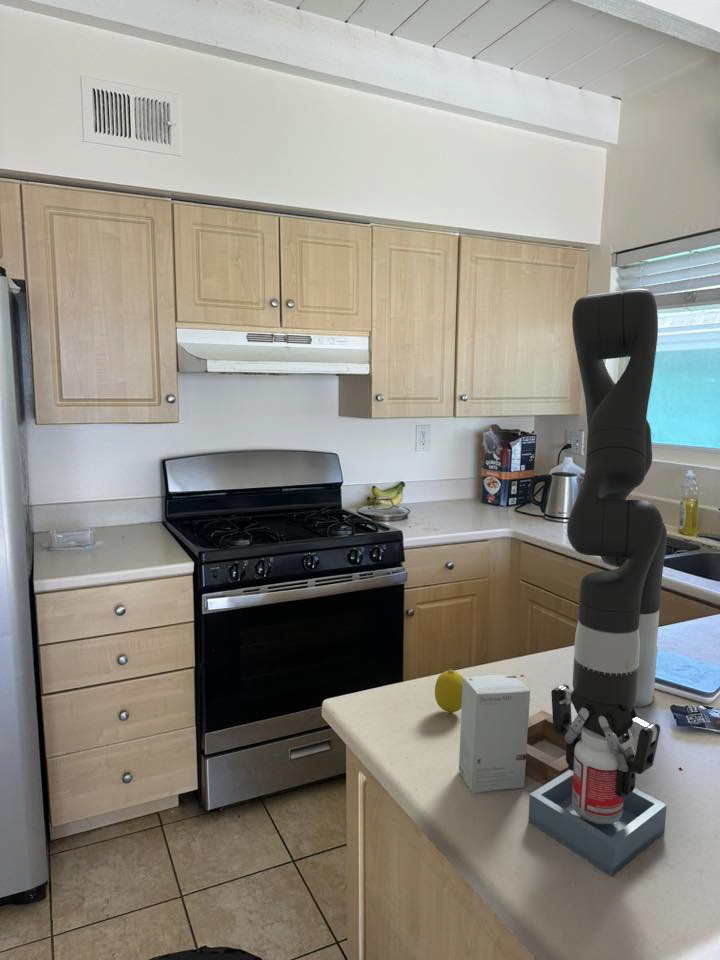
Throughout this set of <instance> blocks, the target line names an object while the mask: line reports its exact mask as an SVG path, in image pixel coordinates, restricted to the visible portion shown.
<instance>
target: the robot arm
mask: <svg viewBox="0 0 720 960" xmlns="http://www.w3.org/2000/svg"><path fill="white" fill-rule="evenodd" d="M658 317H659V316H658V307H657V303H656V298H655V296H654V294H653V292H652V291H651V290H650V289H646V288H631V289H625V290H617V291H610V292H604V293H603V292H602V293H595V294H590V295H589V294H588V295H585V296H581V297H580V298H578V299H577V300H576V302H575V303H574V306H573V310H572V317H571V319H572V320H571V321H572V322H571V323H572V326H571V327H572V334H573V341H574V347H575V352H576V357H577V362H578V363H577V364H578V368H579V373H580V378H581V383H582V389H583V394H584V402H585V410H586V411H585V412H586V424H587V437H586V457H585V458H586V459H585V470H584V477H583V480H582V483H581V487H580V489H579V492H578V495H577V497H576V500H575V502H574V504H573V506H572V509H571V510H570V515H569V518H568V521H567V527H566V532H567V533H566V534H567V539H568V542H569V544H570V545H571V547H572V548H573V550H574V551H575V552H577V553H579V554H581V555H585V556H590V557H591V556H593V557H600V560H601V561H602V562H603V563H604V564H606V565H608V566H611V567H616V568H615V569H611V570H602V571H597V572H591V573H588V574H586V575H584V577H582V579H581V581H580V585H579V597H578V598H579V599H578V600H579V601H578V613H577V614H578V616H577V618H578V619H577V625H576V630H575V634H574V646H573V647H574V649H573V651H574V652H573V670H572V671H573V673H572V688H573V689H571V688H570V686H569V685H568V684H565V683H564V684H561V685H559V686H557V687H555V688H553V689H552V690H551V709H552V714H551V715H553V729H554V731H555V732H556V733H558V734H559V733H561V734H562V735H563V736H564V738H565V741H566V742H567V747H566V751H565V752H566V753H565V755H566V762H567V764H569V765H568V768H569V769H570V770H571V771H573V770H574V751H575V746H576V744H577V743H578V742H579V741H580V740H581V733H582V728H583V726H584V727H585V728H586V729H588V730H590V731H593V732H595V733H597V734H599V735H601V736H603V737H605V738H606V739H607V742H608V745H609V747H610V750H611V752H613V753H614V754H615V757H616V759H617V762H618V765H619V768H618V769H617V784H616V795H618V796H619V797H621V798H623V797H625V796H626V795H628V794H629V793H631V792H632V791H633V790H634V788H635V787H636V775H637V774H638V775H641V774H643V773H644V772H646V771H647V770H649V769H650V768H651V767H653V765H654V761H655V756H656V751H657V748H658V743H659V738H660V737H659V736H660V733H661V727H660V725H659V723H657V722H651V723H648V722H646V721H644V720H643V719H640V718H638V714H637V711H636V709H635V708H641V707H642V708H643V707H646V706H649V705H651V704H652V702H653V699H654V694H655V686H656V685H655V683H656V682H655V681H656V669H657V659H658V658H657V656H658V634H659V633H658V632H659V622H660V621H659V620H660V619H659V618H660V607H661V606H660V604H661V592H662V580H663V573H664V572H663V571H664V563H665V559H666V558H665V557H666V550H667V542H668V539H667V538H668V534H667V527H666V525H665V523H664V521H663V517H662V515H661V512H660V511H659V509H658V507H656V505H654V503H652V502H650V501H646V500H643V499H642V500H641V499H627V497H629V495H630V494H632V492H633V491H634V490H635V488H637V487H639V486H640V485H641V484H642V483H643V482H644V480H645V477H646V475H647V473H648V472H649V471H650V468H651V466H652V464H653V463H652V462H653V446H652V445H653V444H652V430H651V429H652V428H651V426H650V423H649V421H648V419H647V417H648V408H649V402H650V396H651V391H652V390H651V389H652V384H653V379H654V378H653V376H654V369H655V360H656V354H657V344H658V335H659V332H658V331H659V320H658ZM619 358H620V359H621V358H622V359H623V358H629V360H628V363H627V365H626V367H625V370H624V371H623V372H622V374H621V376H620V377H619V379H618V380H617V381H616V383H615V381H614V379H613V378H612V377H611V375H610V373H609V371H608V369H607V366H606V364H605V362H604V360H610V359H612V360H613V359H619ZM571 705H572V706H573V707H574V709H575V712H576V713H577V715H576V717H575V718H574V719H573V721H572V706H571ZM631 728H633V729H634V731H635V735H634V736H635V737H634V736H633V734H632V731H631ZM620 736H621V741H620V742H619V741H618V737H620ZM633 737H634V738H635V739H636V740H637V743H636V748H635V747H634V745H635V740H634V738H633Z"/></svg>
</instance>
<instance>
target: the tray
mask: <svg viewBox="0 0 720 960" xmlns="http://www.w3.org/2000/svg"><path fill="white" fill-rule="evenodd" d="M572 789H573V771H571V770H568V771H567V772H565V773H563V774H562V775H560V776H558V777H557V778H555V779H553V780H552V781H550V782H549V783H547V784H545V785H542V786H540V787H539V788H537V789H535V790H533V791H531V792H530V793H529V801H528V823H529V824H531V825H532V826H533V827H536V828H537V829H538V830H540V831H542V832H543V833H545V834H546V835H548V836H549V837H551V838H552V839H554V840H555V841H557V842H559V843H560V844H561V845H563V846H565V847H566V848H568V850H570V851H572V852H573V853H575V854H577V855H578V856H579V857H581V858H582V859H585V860H586V861H587V862H589V863H590V864H591V865H593V866H595V867H596V868H598V869H600V870H601V871H603V872H604V873H605V874H607V875H609V876H610V877H613V876H615V875H616V874H617V873H618V872H620V871H621V870H622V869H623V868H624V867H626V866H627V865H628V864H629V863H631V862H632V861H633V860H634V859H635V858H636V857H637V856H639V855H640V854H641V853H643V852H644V851H645V850H646V849H648V848H649V847H650V846H651V845H652V844H654V843H655V842H656V841H657V840H659V838H661V837H662V836H663V835H664V834H665V829H666V819H667V816H666V815H667V808H668V807H667V804H666V803H664V802H662V801H661V800H659V799H656V798H655V797H653V796H651V795H649V794H647V793H645V792H643V791H642V790H639V789H637V788H634V790H633V791H632V792H631V793H629V794H628V795H626V796H625V797H624V799H623V812H622V816H621V818H620V819H619V820H618V821H617V822H615V823H612V824H596V823H593V822H590V821H588V820H586V819H584V818H582V817H581V816H580V815H578V814H577V813H576V811H575V810H574V808H573V805H572Z"/></svg>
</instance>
